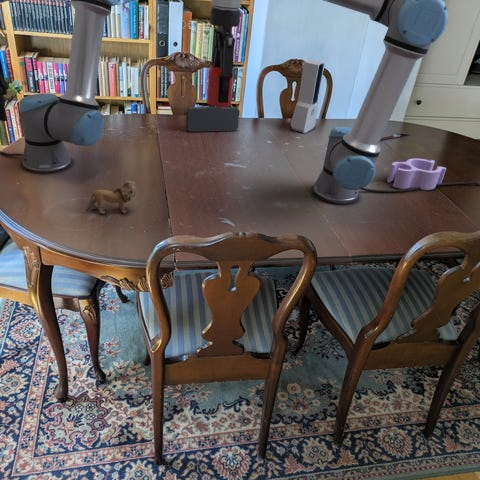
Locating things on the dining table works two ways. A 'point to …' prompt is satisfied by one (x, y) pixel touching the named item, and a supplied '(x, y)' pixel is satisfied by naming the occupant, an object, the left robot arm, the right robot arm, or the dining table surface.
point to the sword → (392, 136)
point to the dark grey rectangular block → (212, 119)
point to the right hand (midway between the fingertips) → (219, 97)
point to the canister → (217, 88)
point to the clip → (415, 174)
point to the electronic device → (308, 96)
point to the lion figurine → (114, 196)
